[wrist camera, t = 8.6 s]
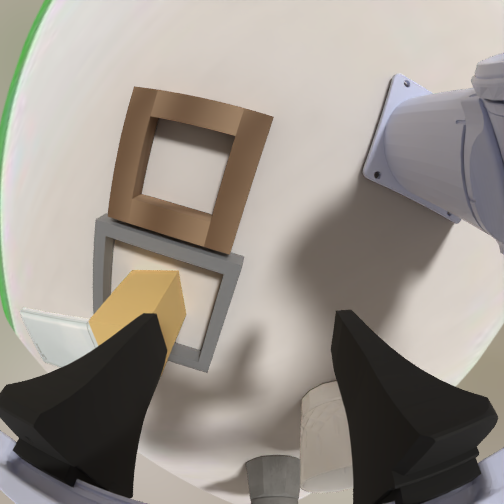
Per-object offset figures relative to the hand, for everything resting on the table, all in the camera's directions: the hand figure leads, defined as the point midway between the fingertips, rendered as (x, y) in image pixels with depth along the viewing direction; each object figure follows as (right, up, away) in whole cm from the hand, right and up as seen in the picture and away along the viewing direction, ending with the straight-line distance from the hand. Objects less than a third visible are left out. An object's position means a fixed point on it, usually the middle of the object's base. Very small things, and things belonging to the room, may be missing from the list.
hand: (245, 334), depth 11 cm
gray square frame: (-7, 0, +11) cm, 13 cm away
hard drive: (-20, -7, +15) cm, 26 cm away
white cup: (+9, -12, +15) cm, 21 cm away
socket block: (-4, +9, +7) cm, 12 cm away
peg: (-7, 0, +11) cm, 13 cm away
